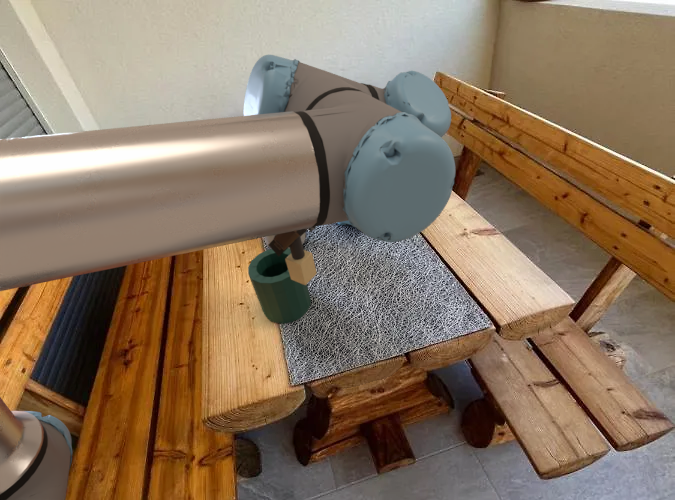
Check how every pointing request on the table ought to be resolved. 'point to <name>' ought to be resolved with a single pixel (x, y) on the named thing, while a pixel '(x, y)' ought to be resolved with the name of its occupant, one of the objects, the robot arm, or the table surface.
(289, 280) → the green plastic cup
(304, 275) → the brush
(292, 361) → the table surface
